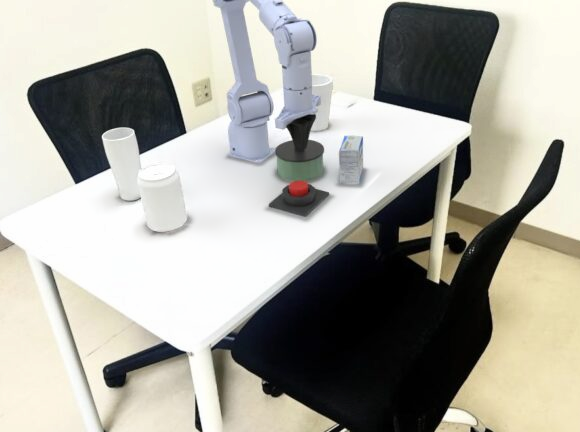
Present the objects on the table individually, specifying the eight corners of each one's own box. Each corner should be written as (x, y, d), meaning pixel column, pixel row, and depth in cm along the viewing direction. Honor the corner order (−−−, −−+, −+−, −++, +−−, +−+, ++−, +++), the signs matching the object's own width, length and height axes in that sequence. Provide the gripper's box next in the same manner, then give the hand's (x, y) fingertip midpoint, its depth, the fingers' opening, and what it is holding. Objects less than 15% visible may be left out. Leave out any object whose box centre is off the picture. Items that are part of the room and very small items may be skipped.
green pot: (269, 177, 129) (267, 156, 126) (293, 159, 136) (292, 138, 133) (308, 186, 124) (307, 165, 121) (330, 167, 131) (330, 146, 128)
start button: (285, 194, 116) (285, 187, 115) (295, 186, 119) (295, 178, 118) (302, 198, 115) (301, 191, 114) (311, 190, 117) (311, 182, 116)
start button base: (268, 209, 117) (267, 196, 115) (293, 187, 124) (293, 176, 122) (305, 219, 113) (305, 206, 111) (329, 197, 120) (329, 184, 118)
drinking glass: (138, 185, 128) (124, 124, 120) (154, 195, 124) (140, 132, 116) (111, 196, 124) (95, 134, 116) (127, 206, 120) (111, 143, 112)
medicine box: (359, 186, 123) (359, 150, 118) (339, 185, 124) (338, 149, 119) (363, 169, 130) (363, 135, 125) (344, 168, 130) (343, 134, 126)
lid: (265, 158, 126) (264, 140, 124) (292, 140, 134) (290, 122, 132) (308, 168, 121) (307, 150, 118) (333, 148, 129) (332, 130, 126)
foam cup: (302, 119, 157) (300, 74, 150) (334, 119, 156) (334, 74, 149) (297, 133, 149) (294, 86, 142) (331, 133, 148) (330, 86, 141)
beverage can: (144, 218, 116) (132, 167, 109) (182, 209, 118) (173, 158, 112) (151, 238, 109) (139, 184, 103) (192, 227, 112) (182, 175, 105)
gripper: (295, 100, 103) (298, 166, 110) (333, 77, 113) (334, 138, 120) (263, 95, 106) (269, 159, 113) (303, 72, 116) (306, 132, 124)
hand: (300, 148), depth 117 cm, fingers closed
